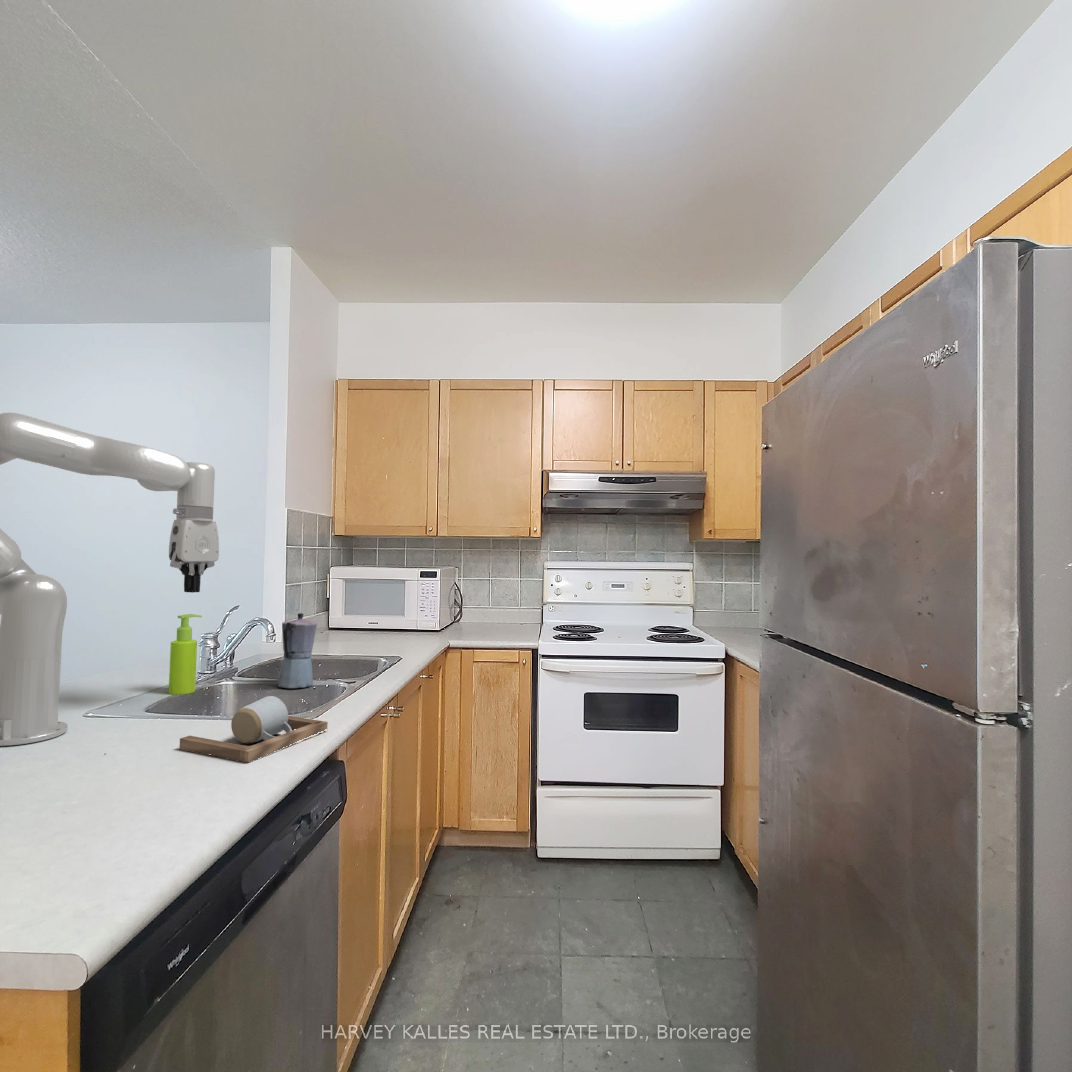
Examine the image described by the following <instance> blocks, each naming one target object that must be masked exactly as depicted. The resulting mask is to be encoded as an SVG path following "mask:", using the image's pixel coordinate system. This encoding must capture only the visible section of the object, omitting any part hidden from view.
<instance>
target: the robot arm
mask: <svg viewBox="0 0 1072 1072" xmlns="http://www.w3.org/2000/svg"><path fill="white" fill-rule="evenodd" d="M16 459H19V460H24V461H27V462H30V463H35V464H41V465H44V466H49V467H52V468H57V469H61V470H64V471H68V472H71V473H72V472H73V473H76V474H80V475H81V474H82V475H87V476H88V475H89V476H99V477H101V476H103V477H104V476H105V477H106V476H108V477H117V478H125V479H129V480H130V479H131V480H136V481H137V483H139V485H140V486H141V487H143V488H144V489H146V490H149V491H152V492H177V494H176V495H177V496H176V508H173V509H172V514H173V515H176V519H174V520H173V523H172V527H171V531H170V537H169V545H168V558H169V560H170V563H169V565H170V567H171V568H175V569H178V570H179V571H180V572H181V575H183V576H184V577H183V578H184V579H183V591H184V593H200V592H201V580H202V579H201V576H203V575H204V572H205V571H206V570H207V569H209V568H212V567H213V568H214V567H215V562H217V561H219V557H220V553H219V552H220V546H219V545H220V542H219V541H220V540H219V530H218V526H217V522H216V521H214V501H215V497H214V496H215V481H216V480H215V478H216V477H215V476H216V475H215V473H216V472H215V468H214V466H212V465H210V464H208V463H203V462H202V463H201V462H191V461H190V462H186V461H185V460H183V458H181V457H179V456H178V455H177V456H176V454H175V455H174V454H171V453H168V452H165V451H162V450H159V449H155V448H151V447H147V446H145V445H140V444H137V443H136V444H135V443H131V442H128V441H127V442H126V441H123V440H117V439H113V438H109V437H105V436H100V435H94V434H91V433H88V432H83V431H81V430H77V429H73V428H70V427H66V426H64V425H60V424H56V423H53V422H49V421H46V420H43V419H39V418H35V417H32V416H29V415H25V414H21V413H17V412H2V413H0V465H3V464H6V463H9V462H10V461H13V460H16ZM67 608H68V596H67V593H66V591H65V588H64V587H63V585H62V584H61V583H60V582H58V581H57V580H56V579H54V578H52V577H50V576H48V575H45V574H38V573H36V572H35V570H33V569H32V568H31V566H29V565H28V564H27V563H26V562H25V561H24V560H23V558H22V552H21V549H20V547H19V545H18V544H17V542H16V541H15V540H13V539H12V538H11V537H10V536H9V535H8V534H7V533H6V532H4V531H3V529H1V528H0V615H1V618H0V747H7V746H18V745H19V746H20V745H25V744H32V743H36V742H42V741H46V740H50V739H53V738H56V737H59V736H61V735H63V734H65V733H67V731H68V730H69V729H68V728H69V727H68V723H66V722H63V721H59V709H60V708H59V707H60V688H61V686H60V685H61V669H62V668H61V667H62V665H61V664H62V662H61V661H62V643H63V630H64V624H65V619H66V614H67Z"/></svg>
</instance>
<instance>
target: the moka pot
mask: <svg viewBox="0 0 1072 1072" xmlns="http://www.w3.org/2000/svg"><path fill="white" fill-rule="evenodd" d="M303 618H304V613H302V612H300V613H297V619H293V620H289V621H284V622H282V624H281V626H282V627H281V628H282V645H283V646H282V649H283V660H282V663H281V668H280V671H279V678H278V682H277V686H278V687H279V688H281V689H282V688H284V689H299V688H300V689H302V688H308V687H311V686H313V685H314V678H313V666H312V665H313V664H312V658H311V657H312V652H313V648H314V642H315V637H316V632H317V631H316V630H317V625H318V623H317V622H314V621H311V620H306V619H303Z"/></svg>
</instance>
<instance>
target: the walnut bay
mask: <svg viewBox="0 0 1072 1072" xmlns="http://www.w3.org/2000/svg"><path fill="white" fill-rule="evenodd" d="M287 724H288V725H289V726H290V727H291V729H296V730H292V731H290V732H288V733H286V732H285V733H282V734H280V735H277V736H275V737H274V738H271V739H269V740H266V741H265V740H263V741H261V742H259V743H258V742H257V743H256V744H255V743H254V744H253V745H250V746H249V745H244V744H243V745H242V744H237V743H231V742H226V741H222V740H217V739H216V740H215V739H211V738H205V737H199V736H194V735H186V736H184V737H180V738H179V750H180V749H181V751H185V750H187V752H190V751H193V752H192V753H195V752H197V754H200V753H203V754H202V755H205V754H211V755H212V756H211V757H215V756H219V757H218V758H220V757H224V758H223V759H225V758H228V759H227V760H230V759H233V760H232V761H235V760H238V761H237V762H240V761H243V762H242V763H245V762H250V763H252V762H254V761H253V760H255V759H257V760H259V759H258V758H260V757H262V758H264V757H263V756H265V757H267V756H268V755H267V754H270V753H272V754H274V753H273V752H274V751H277V750H280V749H282V748H283V747H286V746H289V745H290V744H293V743H295V742H297V741H299V740H302V739H304V738H307V737H309V736H311V735H314V734H317V733H318V732H321V731H324V730H325V729H327V730H328V721H326V720H325V721H324V720H318V719H313V718H312V719H311V718H305V717H299V716H293V715H288V722H287ZM282 750H283V749H282ZM280 751H281V750H280ZM277 752H278V751H277ZM266 755H267V756H266ZM270 755H271V754H270ZM260 759H261V758H260ZM251 761H252V762H251ZM255 761H256V760H255Z"/></svg>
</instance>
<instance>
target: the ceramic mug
mask: <svg viewBox="0 0 1072 1072" xmlns="http://www.w3.org/2000/svg"><path fill="white" fill-rule="evenodd" d="M288 716H289V712H288V709H287V706H286V704H285V703H284V702H283V701H282V699H280V698H279V697H277V696H272V695H271V696H270V695H267V696H265V697H262V698H261V699H258V700H255V701H253V702H252V703H250V704H247V705H245V706H243V707H242V708H240V709H239V710H237V711H236V712H235V713H234V715H233V716H232V719H231V721H230V722H231V723H230V726H231V731H232V734H233V736H234V737H235V739H236V740H237V741H238V742H240V743H241V744H246V745H247V744H248V745H249V744H255V743H258V742H260V741H262V740H263V741H266V740H269V739H271V738H274V737H276V736H275V735H277V734H279V733H281V732H282V731H284V732H285V733H288V732H290V731H293V730H292V729H291V727H290V726H289V725H288V724H287V722H288Z"/></svg>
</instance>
